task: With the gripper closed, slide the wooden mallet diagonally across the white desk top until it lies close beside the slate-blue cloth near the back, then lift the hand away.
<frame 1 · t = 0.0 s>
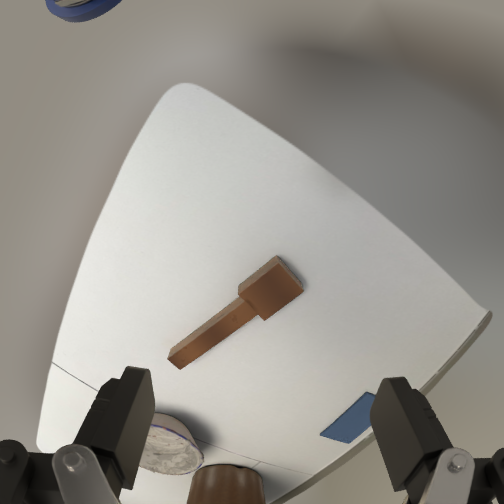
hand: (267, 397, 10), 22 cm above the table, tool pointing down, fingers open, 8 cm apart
bowl: (163, 428, 41), on the table
wooden mallet: (237, 309, 33), on the table
plant pot: (228, 479, 45), on the table
cloth: (356, 419, 40), on the table
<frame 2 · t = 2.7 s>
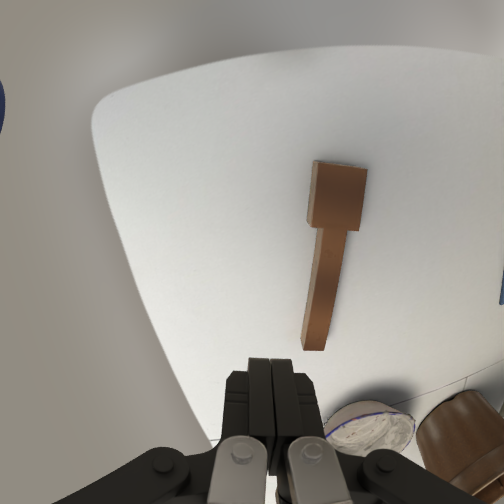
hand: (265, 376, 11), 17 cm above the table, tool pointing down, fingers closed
bowl: (356, 419, 35), on the table
wooden mallet: (326, 244, 27), on the table
plant pot: (450, 417, 36), on the table
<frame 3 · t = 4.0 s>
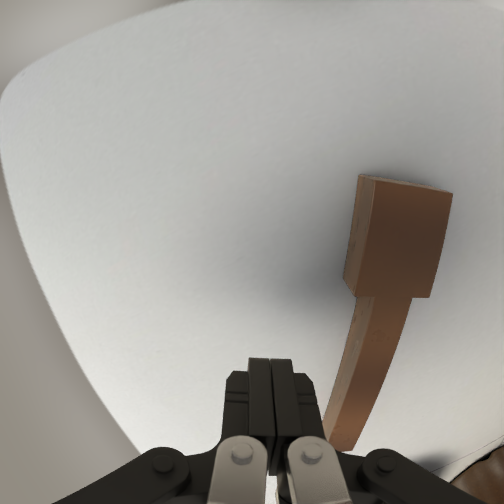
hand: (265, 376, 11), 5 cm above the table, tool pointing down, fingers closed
wooden mallet: (370, 313, 16), on the table
plant pot: (479, 471, 25), on the table
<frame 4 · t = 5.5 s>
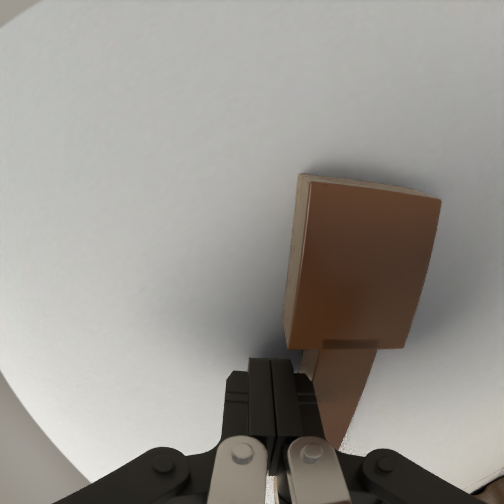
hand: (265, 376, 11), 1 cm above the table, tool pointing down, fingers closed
wooden mallet: (326, 359, 12), on the table, touching gripper
plant pot: (473, 501, 21), on the table
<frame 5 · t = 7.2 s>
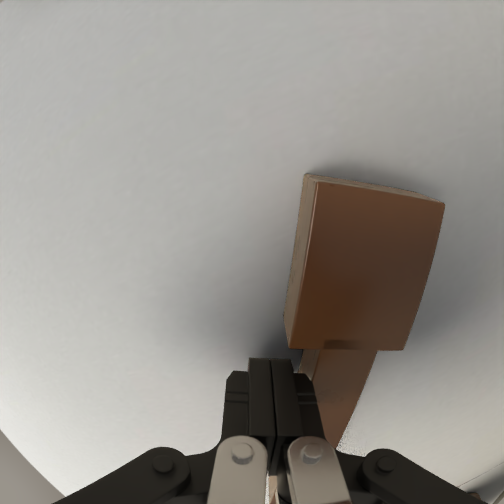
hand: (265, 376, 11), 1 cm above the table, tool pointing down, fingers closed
wooden mallet: (325, 359, 12), on the table, touching gripper
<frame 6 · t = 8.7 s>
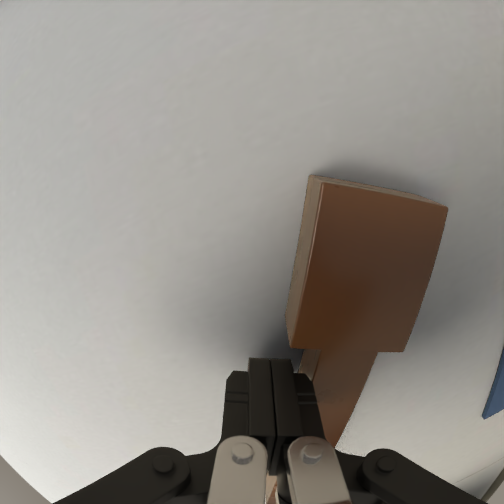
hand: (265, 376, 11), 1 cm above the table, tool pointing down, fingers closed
wooden mallet: (325, 360, 12), on the table, touching gripper
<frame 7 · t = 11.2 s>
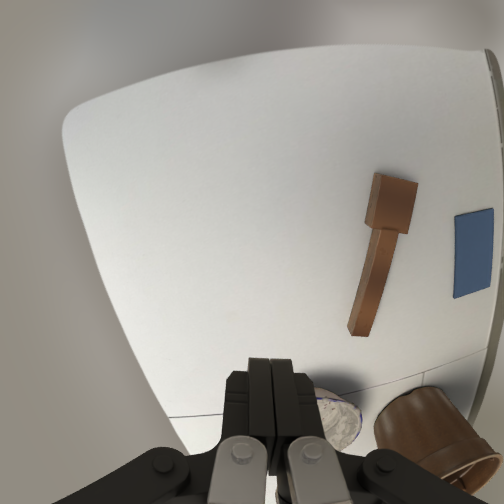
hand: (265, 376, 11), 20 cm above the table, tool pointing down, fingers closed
bowl: (306, 407, 38), on the table
wooden mallet: (378, 244, 30), on the table
plant pot: (411, 413, 39), on the table
cloth: (473, 253, 30), on the table
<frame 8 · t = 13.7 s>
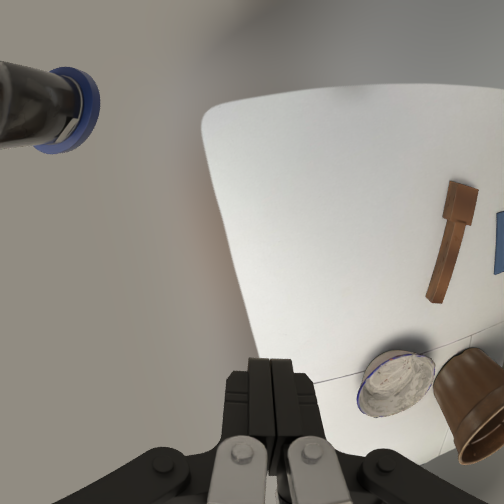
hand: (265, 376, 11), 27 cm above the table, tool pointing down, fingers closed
bowl: (387, 368, 45), on the table
wooden mallet: (449, 233, 37), on the table
plant pot: (459, 372, 46), on the table
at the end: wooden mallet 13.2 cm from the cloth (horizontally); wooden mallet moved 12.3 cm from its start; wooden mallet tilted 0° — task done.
